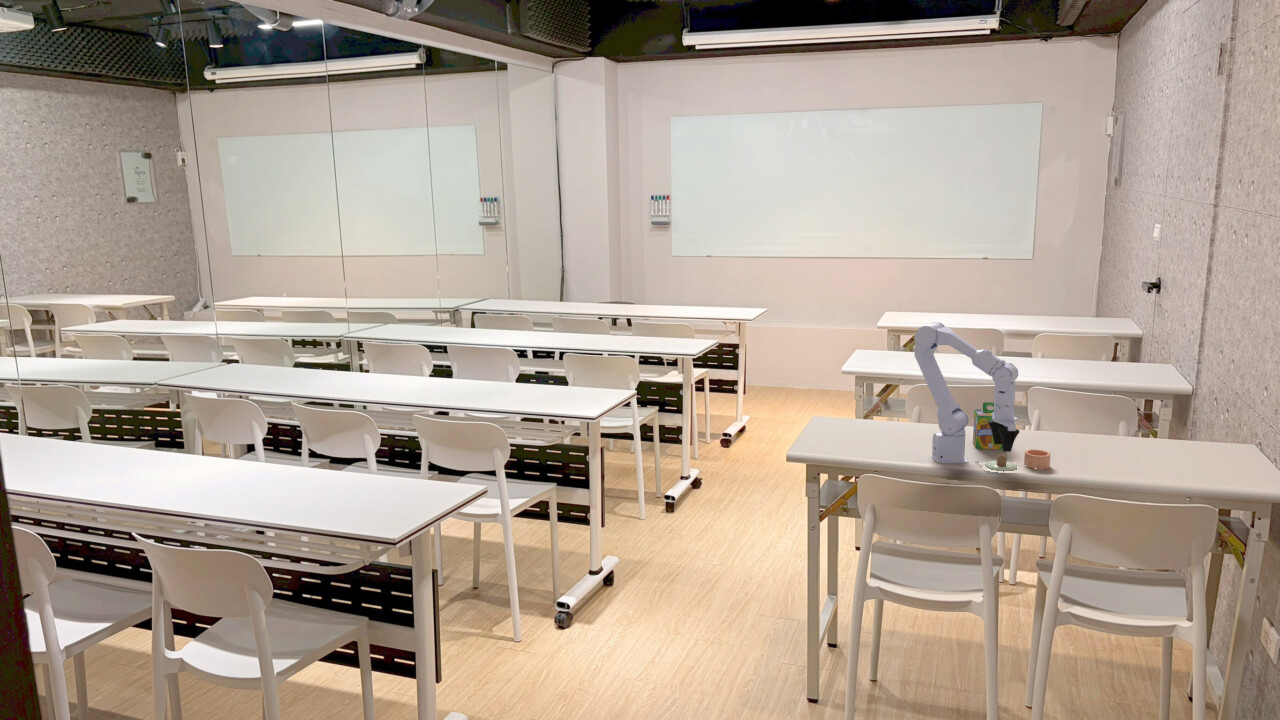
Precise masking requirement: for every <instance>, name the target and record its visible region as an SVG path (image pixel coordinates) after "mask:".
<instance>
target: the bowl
mask: <svg viewBox="0 0 1280 720" xmlns="http://www.w3.org/2000/svg"><path fill="white" fill-rule="evenodd" d="M1051 458H1052V457H1051V452H1049V451H1047V450H1045V449H1044V450H1042V449H1027V450H1025V451H1024V460H1023V465H1026V466H1027V467H1026V466H1025V467H1026V468H1028V467H1031V468H1037V469H1045V470H1047V469H1046V468H1049V467H1051ZM1031 468H1030V469H1031ZM1037 469H1036V470H1037ZM1049 469H1050V468H1049Z"/></svg>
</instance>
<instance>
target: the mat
mask: <svg viewBox="0 0 1280 720" xmlns="http://www.w3.org/2000/svg"><path fill="white" fill-rule="evenodd" d="M976 462H977V463H979V461H976ZM977 463H976V464H977ZM983 471H984V472H985V473H986V474H987V475H1007V474H1006V473H1005V474H1004V473H998V472H990V471H985V470H983Z"/></svg>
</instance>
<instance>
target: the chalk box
mask: <svg viewBox="0 0 1280 720" xmlns="http://www.w3.org/2000/svg"><path fill="white" fill-rule="evenodd" d="M989 406H990V407H993V409H988V407H989ZM992 412H994V401H993V402H992V401H991V402H990V401H988V402H987V401H984V402H983V403H982V409H974V412H973V430H972V431H973V432H972V433H973V434H972V444H973V445H974V448H975V450H976V449H977V450H994V451H995V450H998V451H1003V448H1002V444H994V441H993V435H992V431H991V428H990V426H989V424H988V421H993V419H992Z"/></svg>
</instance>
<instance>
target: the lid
mask: <svg viewBox="0 0 1280 720" xmlns="http://www.w3.org/2000/svg"><path fill="white" fill-rule="evenodd" d="M1007 456H1008V455H1005V454H997V455H996V460H991V461H990V462H987V463H986V464H985V466H986V467H987V468H989V469H991V470H996V471H1003V472H1004V471H1014V470H1017V465H1015V464H1013V463H1010V462H1007V461H1008V460H1007V459H1008V457H1007Z"/></svg>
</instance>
